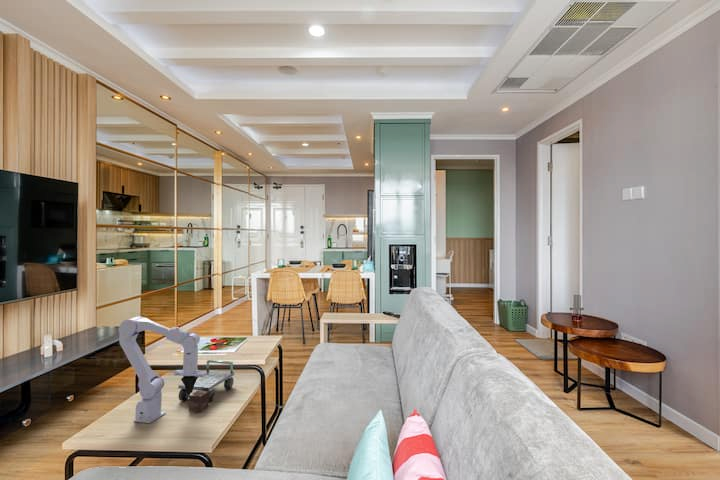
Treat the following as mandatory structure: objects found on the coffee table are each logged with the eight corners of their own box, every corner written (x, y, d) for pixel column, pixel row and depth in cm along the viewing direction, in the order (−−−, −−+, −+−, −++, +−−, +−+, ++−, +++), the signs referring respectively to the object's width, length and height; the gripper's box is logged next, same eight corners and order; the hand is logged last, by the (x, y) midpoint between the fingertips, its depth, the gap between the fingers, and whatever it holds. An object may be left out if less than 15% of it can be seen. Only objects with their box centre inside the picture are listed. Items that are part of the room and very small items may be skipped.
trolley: (207, 405, 160) (208, 376, 160) (177, 402, 163) (178, 373, 163) (234, 386, 182) (234, 361, 183) (207, 384, 185) (208, 359, 186)
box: (209, 407, 158) (209, 391, 158) (200, 413, 152) (200, 396, 152) (197, 406, 159) (197, 390, 160) (188, 412, 153) (188, 395, 154)
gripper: (210, 360, 154) (209, 390, 154) (182, 357, 157) (181, 387, 157) (200, 365, 147) (199, 397, 147) (171, 362, 150) (170, 394, 150)
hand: (189, 392), depth 151 cm, fingers closed
